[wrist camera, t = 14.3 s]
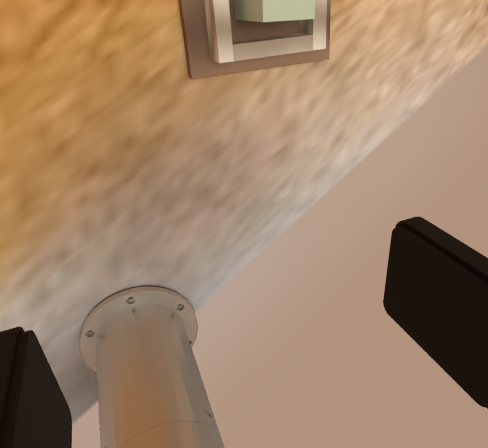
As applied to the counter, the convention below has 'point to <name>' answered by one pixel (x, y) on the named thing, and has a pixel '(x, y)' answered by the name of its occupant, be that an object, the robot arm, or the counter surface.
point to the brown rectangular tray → (249, 39)
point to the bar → (274, 10)
